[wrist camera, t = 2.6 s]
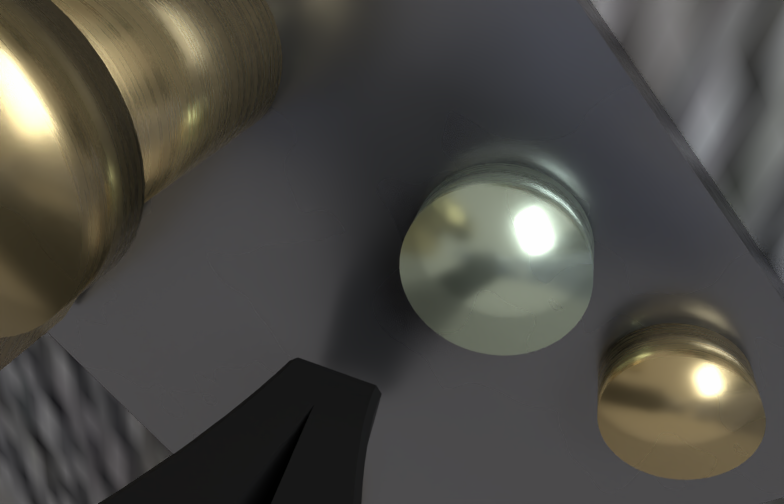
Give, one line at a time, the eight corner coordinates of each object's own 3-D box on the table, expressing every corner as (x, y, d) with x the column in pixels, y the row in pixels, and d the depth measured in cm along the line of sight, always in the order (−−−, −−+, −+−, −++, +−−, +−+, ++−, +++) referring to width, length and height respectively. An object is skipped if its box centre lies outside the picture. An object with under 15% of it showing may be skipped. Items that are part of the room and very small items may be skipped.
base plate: (865, 405, 10) (962, 598, 7) (364, 573, 15) (312, 723, 13) (82, -747, 7) (-280, -1179, 4) (-227, -21, 12) (-475, 12, 9)
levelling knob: (152, -144, 8) (-250, -159, 4) (351, 39, 8) (147, 176, 4) (-32, 242, 12) (-324, 412, 8) (110, 354, 12) (-106, 564, 8)
